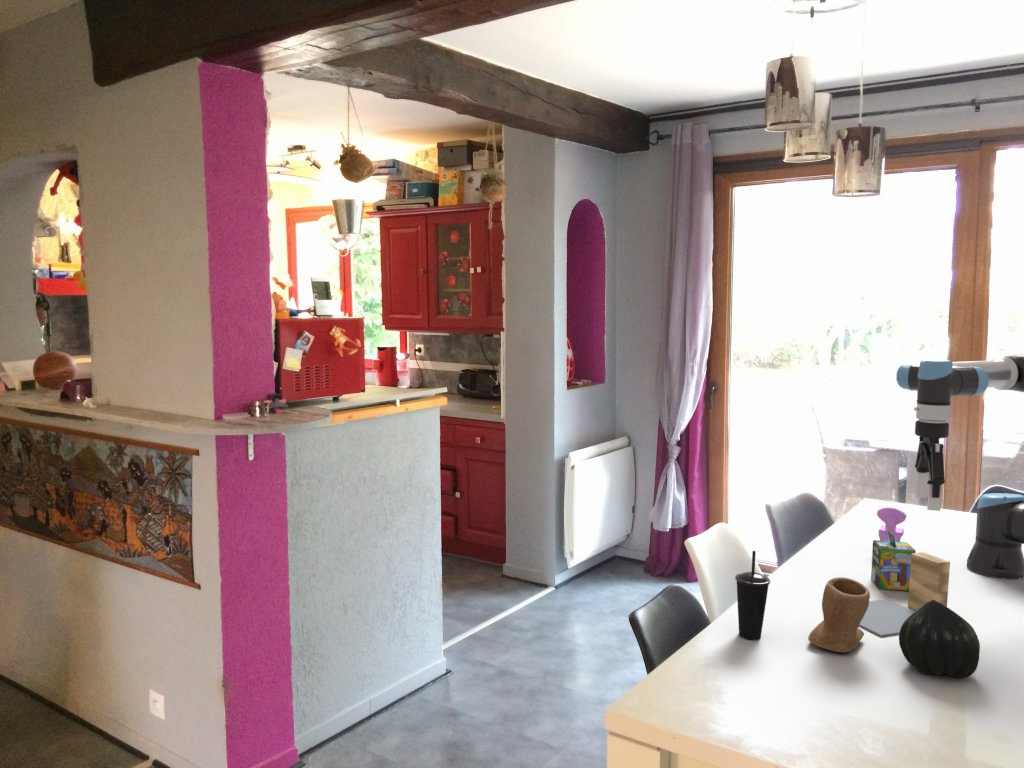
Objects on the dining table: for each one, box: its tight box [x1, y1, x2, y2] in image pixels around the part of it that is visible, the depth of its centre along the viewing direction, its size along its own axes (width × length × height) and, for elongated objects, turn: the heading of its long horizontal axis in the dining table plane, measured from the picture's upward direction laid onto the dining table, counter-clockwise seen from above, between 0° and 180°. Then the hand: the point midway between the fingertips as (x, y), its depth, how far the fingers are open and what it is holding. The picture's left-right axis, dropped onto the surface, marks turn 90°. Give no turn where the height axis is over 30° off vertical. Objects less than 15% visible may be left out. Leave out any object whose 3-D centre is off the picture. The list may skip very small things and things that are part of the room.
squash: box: [898, 600, 981, 679], centre depth 167 cm, size 14×15×15 cm
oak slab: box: [907, 551, 951, 612], centre depth 200 cm, size 4×8×14 cm, turn 20°
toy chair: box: [876, 506, 907, 542], centre depth 250 cm, size 8×9×15 cm
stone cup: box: [808, 576, 871, 653], centre depth 179 cm, size 15×12×15 cm
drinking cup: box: [734, 550, 771, 641], centre depth 182 cm, size 8×8×20 cm
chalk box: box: [870, 531, 917, 592], centre depth 219 cm, size 9×9×15 cm
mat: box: [858, 598, 916, 638], centre depth 196 cm, size 20×18×1 cm
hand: (927, 503), depth 202 cm, fingers open, 13 cm apart
